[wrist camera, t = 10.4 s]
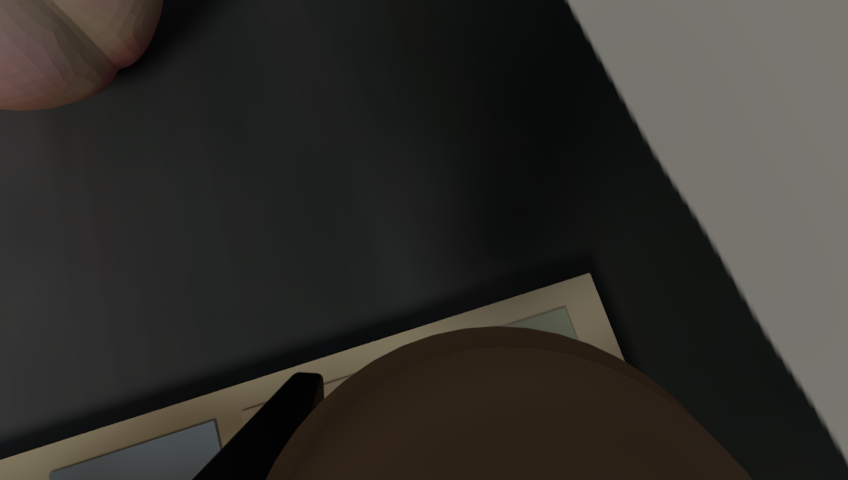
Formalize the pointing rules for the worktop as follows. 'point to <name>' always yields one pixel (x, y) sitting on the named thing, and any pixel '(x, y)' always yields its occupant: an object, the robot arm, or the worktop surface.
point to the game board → (233, 407)
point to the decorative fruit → (68, 48)
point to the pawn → (501, 417)
